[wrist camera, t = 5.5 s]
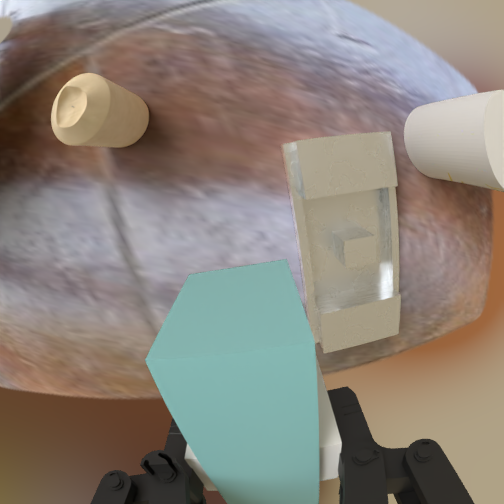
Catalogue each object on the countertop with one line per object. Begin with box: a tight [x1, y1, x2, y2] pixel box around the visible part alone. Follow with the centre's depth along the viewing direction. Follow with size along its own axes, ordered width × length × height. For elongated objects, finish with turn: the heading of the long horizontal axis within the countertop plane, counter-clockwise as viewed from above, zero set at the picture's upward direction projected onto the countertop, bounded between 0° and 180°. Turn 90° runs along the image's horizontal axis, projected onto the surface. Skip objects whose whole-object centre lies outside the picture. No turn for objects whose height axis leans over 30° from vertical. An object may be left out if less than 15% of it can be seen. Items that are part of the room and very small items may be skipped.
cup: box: [404, 90, 504, 192], centre depth 19 cm, size 8×8×12 cm
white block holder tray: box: [280, 132, 401, 353], centre depth 26 cm, size 20×10×4 cm, turn 11°
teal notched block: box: [145, 259, 319, 504], centre depth 11 cm, size 12×4×8 cm, turn 10°
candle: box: [51, 73, 149, 148], centre depth 19 cm, size 6×6×10 cm
